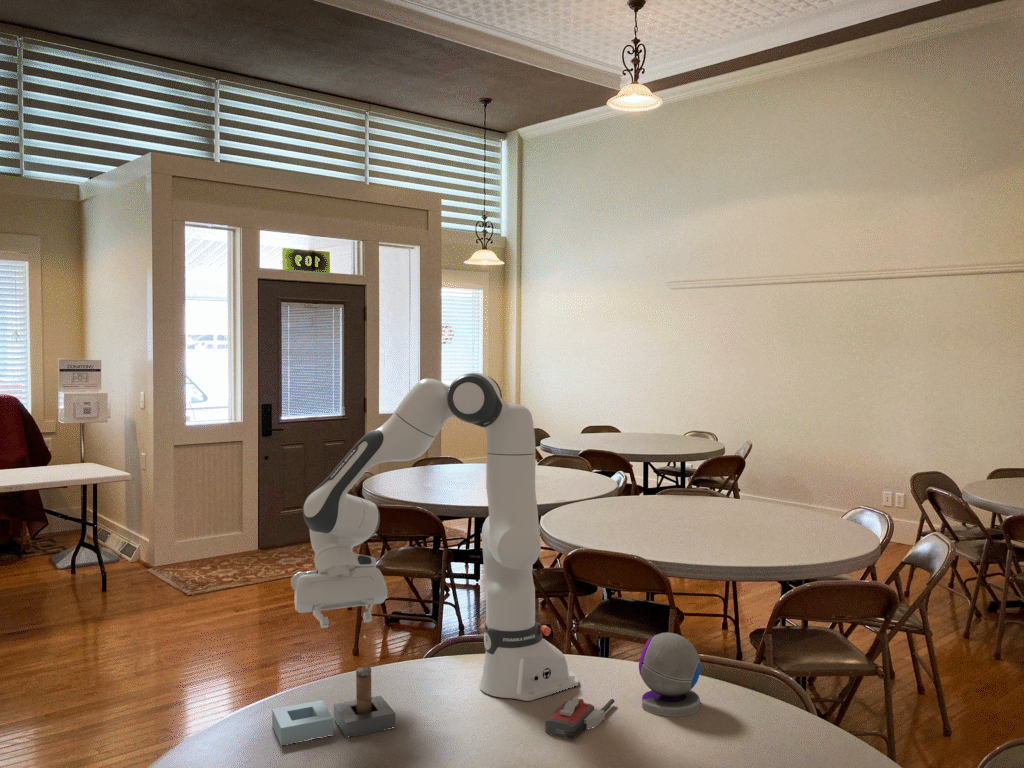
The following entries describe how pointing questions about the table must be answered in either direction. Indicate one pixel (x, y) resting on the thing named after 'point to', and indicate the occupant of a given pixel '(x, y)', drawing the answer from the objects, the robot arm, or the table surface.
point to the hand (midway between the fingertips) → (346, 623)
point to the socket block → (364, 717)
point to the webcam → (670, 675)
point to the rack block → (302, 722)
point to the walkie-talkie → (574, 718)
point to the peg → (363, 690)
